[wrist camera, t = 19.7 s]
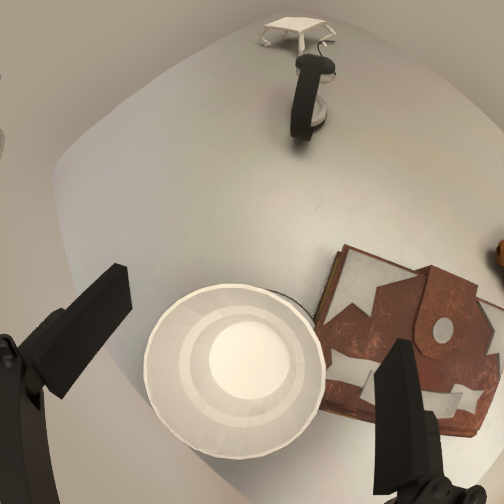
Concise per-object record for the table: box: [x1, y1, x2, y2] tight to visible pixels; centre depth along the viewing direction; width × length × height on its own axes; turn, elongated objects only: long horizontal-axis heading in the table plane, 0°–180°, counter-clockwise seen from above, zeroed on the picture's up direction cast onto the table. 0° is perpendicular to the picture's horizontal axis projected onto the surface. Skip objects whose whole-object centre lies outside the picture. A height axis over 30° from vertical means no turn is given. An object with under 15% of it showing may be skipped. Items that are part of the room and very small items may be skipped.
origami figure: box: [258, 17, 336, 57], centre depth 36 cm, size 12×8×5 cm
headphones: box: [290, 41, 336, 141], centre depth 31 cm, size 10×4×20 cm
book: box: [313, 244, 504, 438], centre depth 24 cm, size 23×16×5 cm
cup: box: [144, 284, 326, 460], centre depth 19 cm, size 10×10×10 cm
